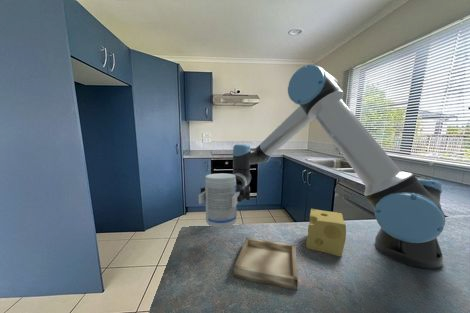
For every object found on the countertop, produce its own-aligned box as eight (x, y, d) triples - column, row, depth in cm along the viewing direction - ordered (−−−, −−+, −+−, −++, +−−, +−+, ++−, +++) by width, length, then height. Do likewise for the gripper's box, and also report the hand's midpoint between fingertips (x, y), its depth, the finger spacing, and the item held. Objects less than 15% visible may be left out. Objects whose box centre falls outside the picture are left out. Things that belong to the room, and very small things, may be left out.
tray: (294, 252, 58) (295, 244, 57) (297, 290, 43) (297, 279, 43) (246, 245, 61) (246, 237, 61) (233, 277, 47) (234, 267, 47)
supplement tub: (242, 223, 59) (242, 176, 58) (214, 232, 54) (214, 179, 52) (226, 213, 67) (226, 172, 66) (200, 220, 62) (200, 174, 60)
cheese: (305, 249, 60) (307, 218, 59) (308, 233, 69) (310, 207, 69) (344, 258, 55) (346, 225, 54) (341, 240, 65) (343, 212, 64)
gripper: (263, 195, 74) (254, 217, 53) (210, 191, 80) (181, 210, 58) (263, 176, 74) (254, 190, 52) (209, 173, 79) (181, 185, 58)
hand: (216, 201), depth 55 cm, fingers closed on supplement tub, 9 cm apart
